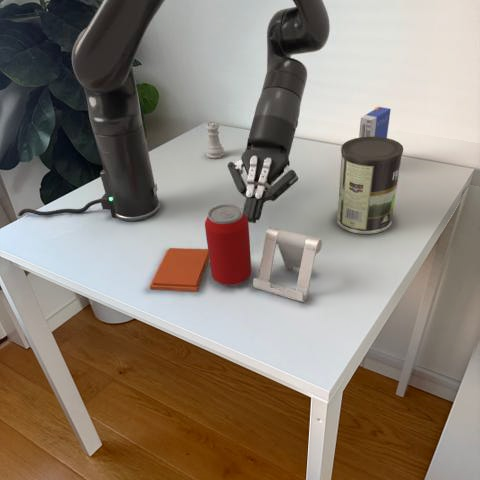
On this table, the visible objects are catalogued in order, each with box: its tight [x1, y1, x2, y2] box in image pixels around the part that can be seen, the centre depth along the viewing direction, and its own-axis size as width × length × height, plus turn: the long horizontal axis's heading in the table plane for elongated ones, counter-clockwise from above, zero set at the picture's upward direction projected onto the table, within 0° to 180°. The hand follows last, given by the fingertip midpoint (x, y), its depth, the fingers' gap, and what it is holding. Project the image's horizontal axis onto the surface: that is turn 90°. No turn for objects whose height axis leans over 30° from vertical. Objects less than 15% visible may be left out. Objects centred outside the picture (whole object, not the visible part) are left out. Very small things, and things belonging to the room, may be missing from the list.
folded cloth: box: [149, 247, 210, 293], centre depth 83 cm, size 8×11×1 cm
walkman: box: [358, 106, 392, 138], centre depth 104 cm, size 8×3×12 cm, turn 138°
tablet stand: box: [252, 227, 323, 303], centre depth 75 cm, size 9×8×8 cm
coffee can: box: [336, 137, 404, 235], centre depth 87 cm, size 10×10×14 cm
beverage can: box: [204, 203, 252, 286], centre depth 77 cm, size 7×7×12 cm
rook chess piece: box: [205, 120, 225, 160], centre depth 116 cm, size 4×4×8 cm
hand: (249, 221), depth 82 cm, fingers closed
